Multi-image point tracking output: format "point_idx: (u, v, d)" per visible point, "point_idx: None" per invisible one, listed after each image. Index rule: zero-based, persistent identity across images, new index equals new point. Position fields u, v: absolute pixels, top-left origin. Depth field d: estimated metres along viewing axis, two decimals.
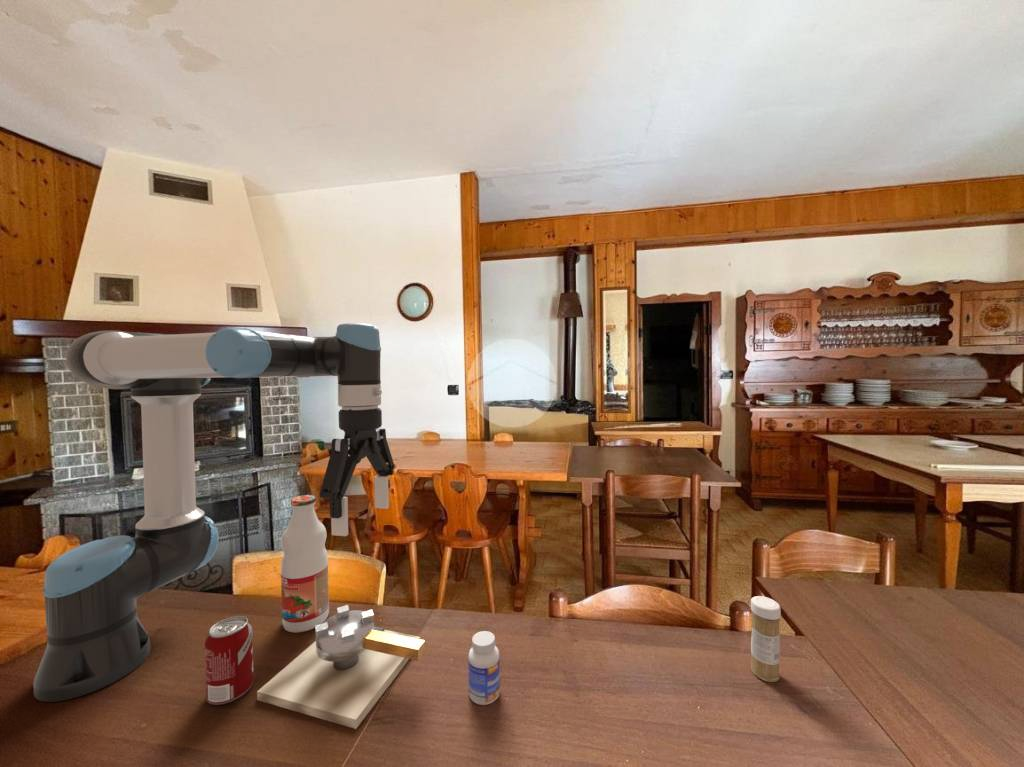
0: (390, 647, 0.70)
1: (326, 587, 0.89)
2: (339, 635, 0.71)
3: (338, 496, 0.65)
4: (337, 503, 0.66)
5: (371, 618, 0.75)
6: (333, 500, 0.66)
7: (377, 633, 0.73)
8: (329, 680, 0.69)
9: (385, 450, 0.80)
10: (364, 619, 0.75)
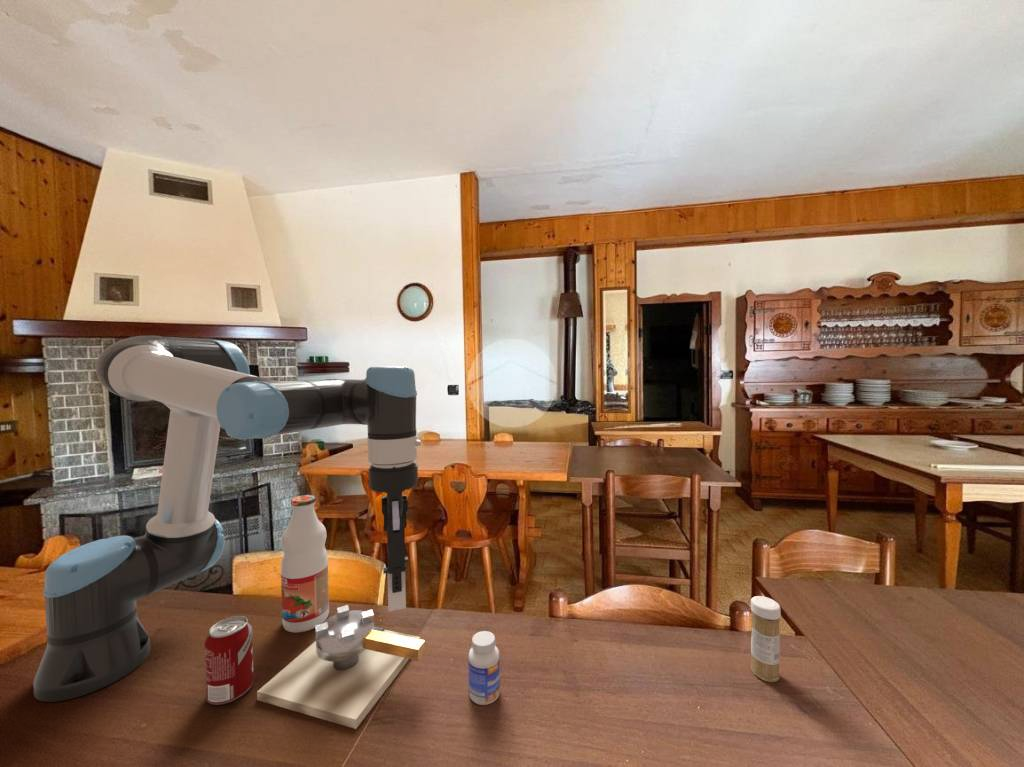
0: (390, 647, 0.70)
1: (326, 587, 0.89)
2: (339, 635, 0.71)
3: None
4: (401, 575, 0.62)
5: (371, 618, 0.75)
6: (396, 574, 0.62)
7: (377, 633, 0.73)
8: (329, 680, 0.69)
9: None
10: (364, 619, 0.75)
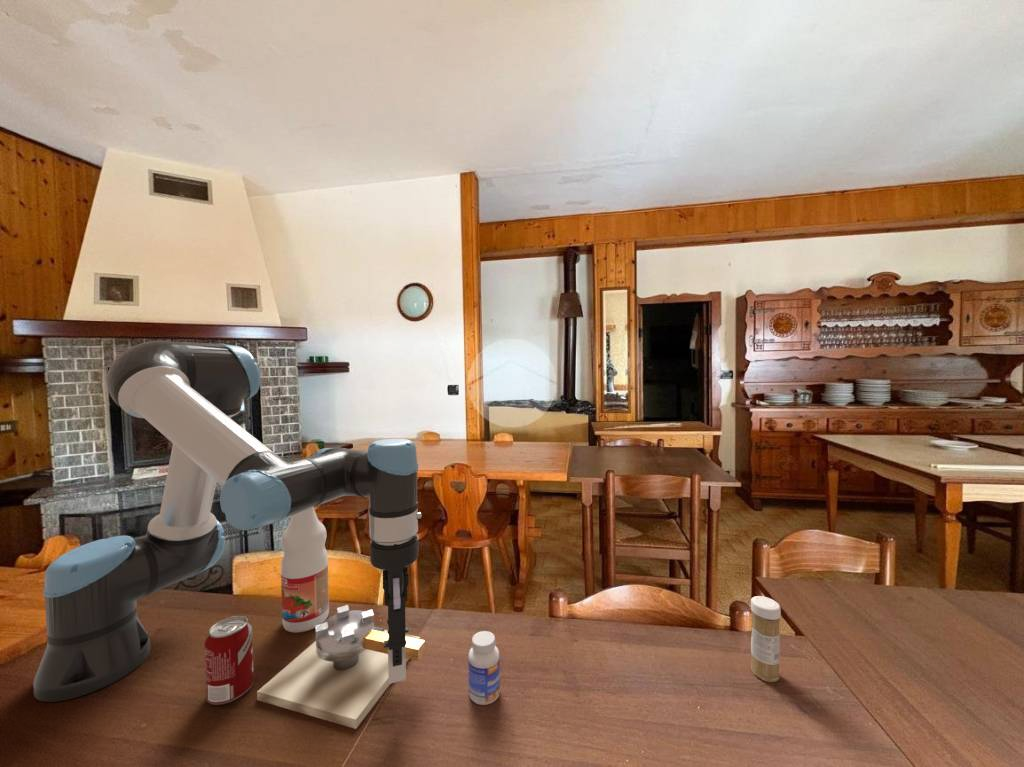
0: None
1: (326, 587, 0.89)
2: (339, 635, 0.71)
3: None
4: (401, 649, 0.63)
5: (371, 618, 0.75)
6: None
7: (377, 633, 0.73)
8: (329, 680, 0.69)
9: None
10: (364, 619, 0.75)
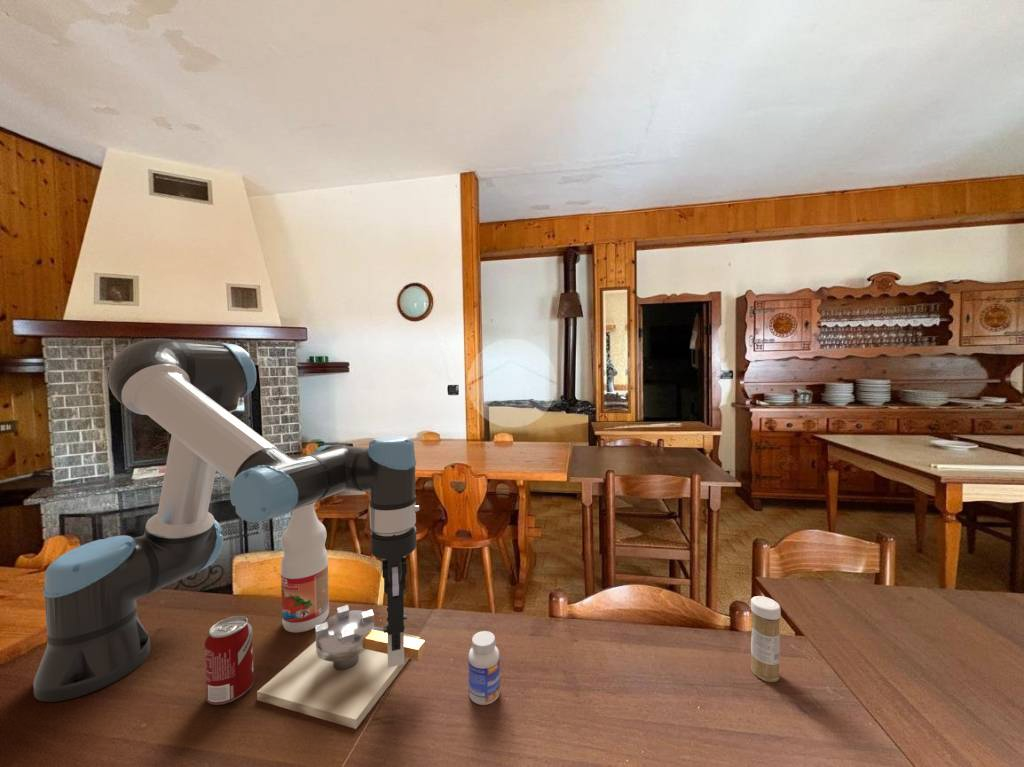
0: None
1: (326, 587, 0.89)
2: (339, 635, 0.71)
3: None
4: (400, 634, 0.66)
5: (371, 618, 0.75)
6: (395, 633, 0.66)
7: (377, 633, 0.73)
8: (329, 680, 0.69)
9: None
10: (364, 619, 0.75)
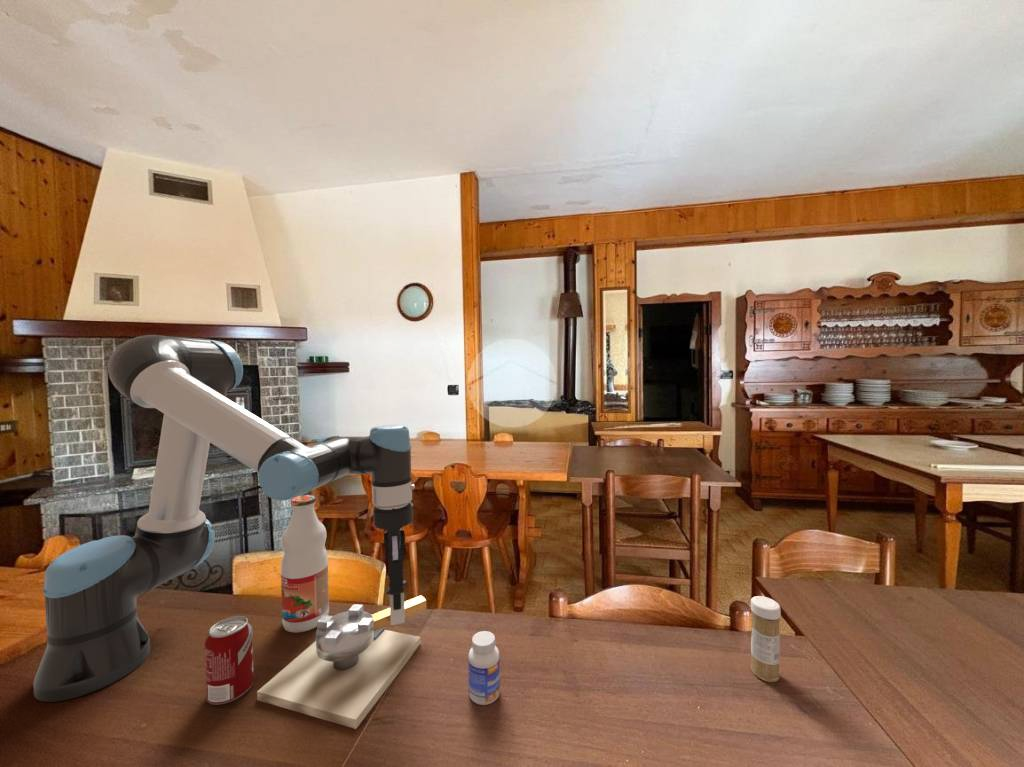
0: None
1: (326, 587, 0.89)
2: (353, 631, 0.72)
3: None
4: None
5: (362, 608, 0.78)
6: (396, 594, 0.76)
7: (379, 613, 0.78)
8: (329, 680, 0.69)
9: None
10: (359, 611, 0.77)
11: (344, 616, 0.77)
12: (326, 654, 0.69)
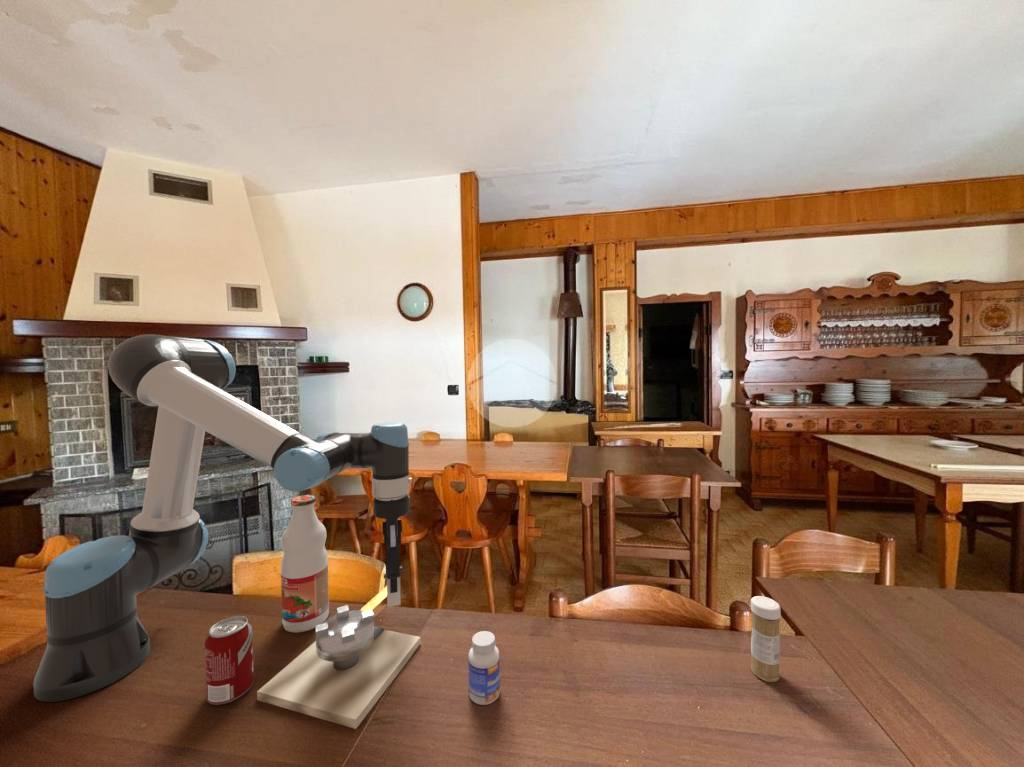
0: (384, 601, 0.84)
1: (326, 587, 0.89)
2: (359, 626, 0.74)
3: None
4: (396, 580, 0.83)
5: (348, 608, 0.78)
6: (393, 579, 0.83)
7: (365, 608, 0.80)
8: (329, 680, 0.69)
9: None
10: (349, 611, 0.77)
11: (333, 621, 0.76)
12: (343, 653, 0.69)
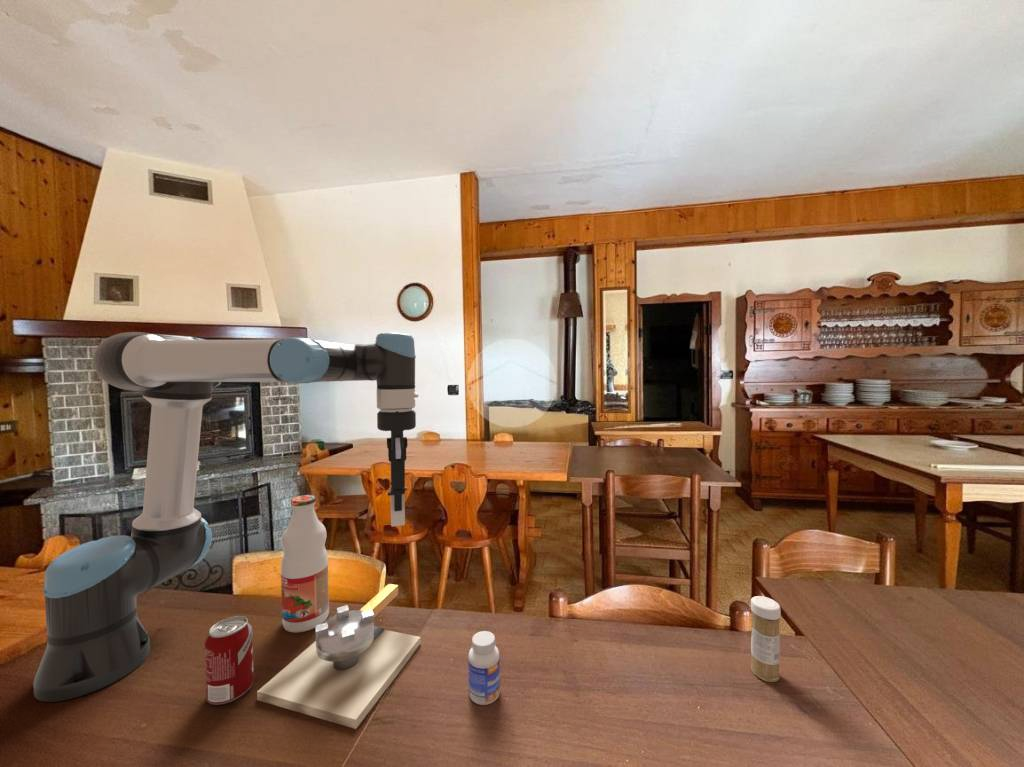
0: (384, 601, 0.84)
1: (326, 587, 0.89)
2: (359, 625, 0.74)
3: (402, 493, 0.79)
4: (401, 498, 0.79)
5: (348, 608, 0.78)
6: (397, 496, 0.79)
7: (365, 608, 0.80)
8: (329, 680, 0.69)
9: None
10: (348, 611, 0.77)
11: (333, 621, 0.76)
12: (343, 653, 0.69)
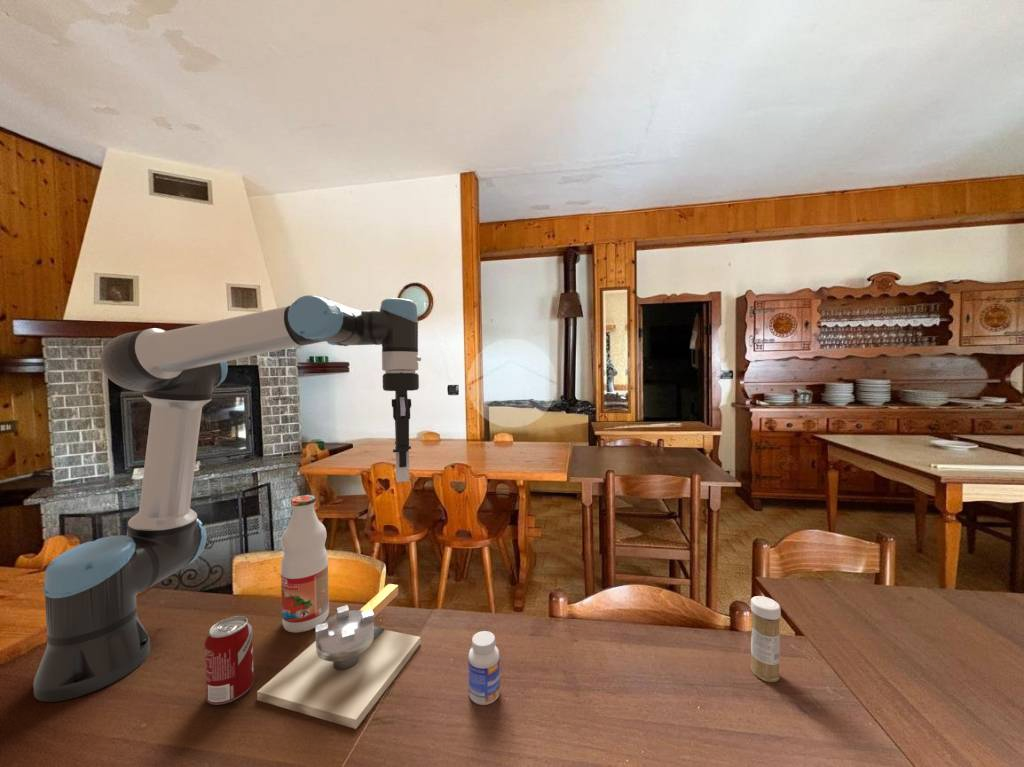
0: (384, 601, 0.84)
1: (326, 587, 0.89)
2: (359, 625, 0.74)
3: (407, 450, 0.84)
4: (405, 455, 0.84)
5: (348, 608, 0.78)
6: (402, 453, 0.83)
7: (365, 608, 0.80)
8: (329, 680, 0.69)
9: None
10: (348, 611, 0.77)
11: (333, 621, 0.76)
12: (343, 653, 0.69)
